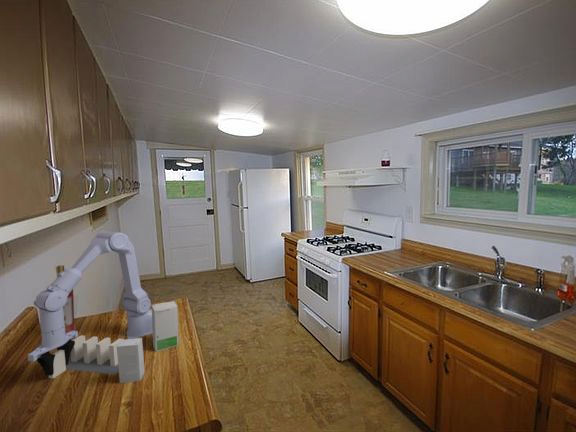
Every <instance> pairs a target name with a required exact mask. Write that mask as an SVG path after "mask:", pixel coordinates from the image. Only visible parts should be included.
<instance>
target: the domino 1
mask: <svg viewBox="0 0 576 432" xmlns="http://www.w3.org/2000/svg"><path fill="white" fill-rule="evenodd" d="M53 354H55V358H54V364H53V366H54V373H53V375H51V376H49V375H47V377H48V379H55V378H57V377H58V376H59V375H61V374H62V373H64V372H66V370H67V369H66V364H65V352H64V350H59V351H58V350H57V351H55V352H53Z"/></svg>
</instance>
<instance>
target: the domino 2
mask: <svg viewBox="0 0 576 432" xmlns="http://www.w3.org/2000/svg"><path fill="white" fill-rule="evenodd" d="M71 341H75V345H74V347H73V349H72V351H71V362H76V361H78V360H79V359H81V358H82V357H84V354H83V343H84V342H85V341H86V336H85V335H81V334H80V335H78V336H77V337H76V338H73V339H71Z"/></svg>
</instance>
